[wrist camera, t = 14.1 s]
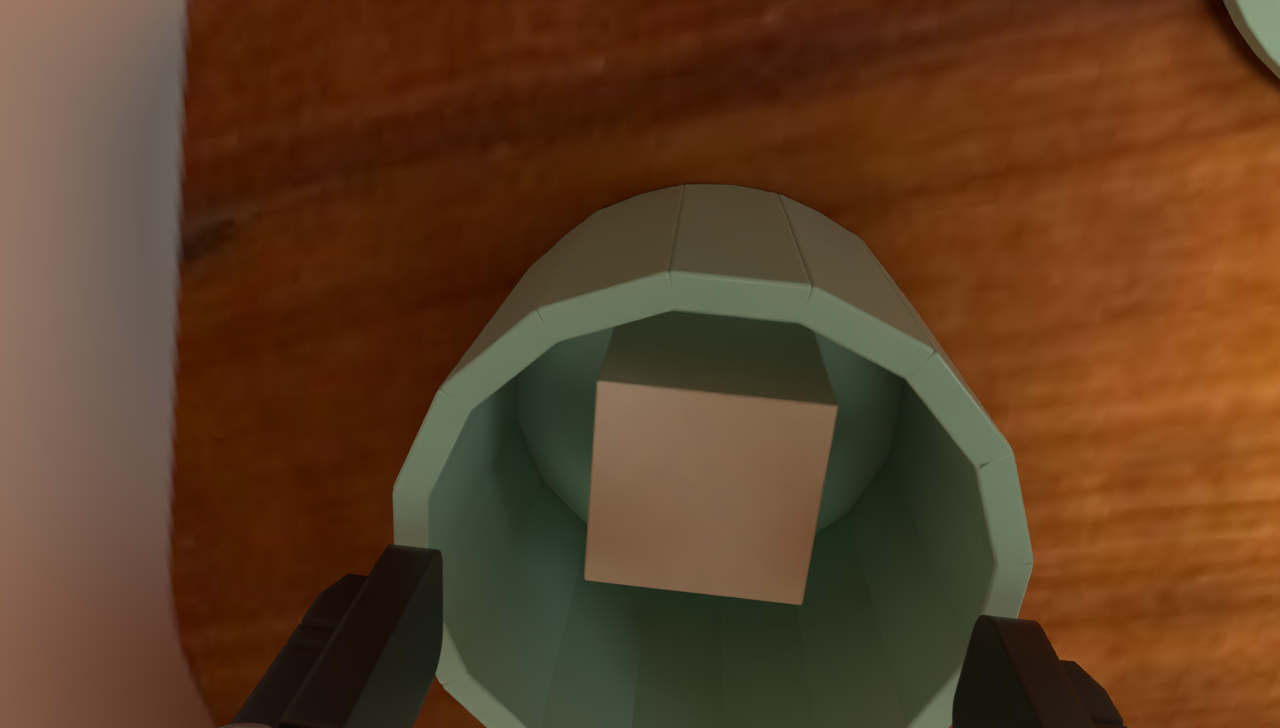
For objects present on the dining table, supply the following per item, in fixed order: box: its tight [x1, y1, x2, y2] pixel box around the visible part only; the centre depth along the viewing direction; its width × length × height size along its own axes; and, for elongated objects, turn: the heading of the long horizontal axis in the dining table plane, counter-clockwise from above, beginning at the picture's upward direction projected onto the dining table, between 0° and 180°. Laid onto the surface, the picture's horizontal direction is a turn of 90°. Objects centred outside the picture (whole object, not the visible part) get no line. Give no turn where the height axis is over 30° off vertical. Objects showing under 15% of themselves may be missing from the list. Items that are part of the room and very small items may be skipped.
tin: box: [393, 184, 1034, 728], centre depth 17 cm, size 10×10×7 cm
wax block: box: [584, 312, 838, 605], centre depth 18 cm, size 4×4×4 cm
